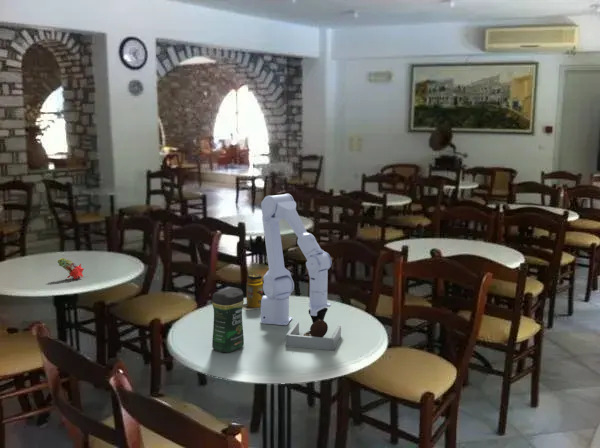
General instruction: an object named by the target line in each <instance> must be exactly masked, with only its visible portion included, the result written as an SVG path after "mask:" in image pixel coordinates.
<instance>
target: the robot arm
mask: <svg viewBox="0 0 600 448" xmlns="http://www.w3.org/2000/svg"><path fill="white" fill-rule="evenodd" d="M260 206H261V213H262V214H261V215H262V217H261V218H262V225H263V226H262V227H263V234H264V241H265V249H266V250H265V251H266V257H267V264H268V270H267V271H266V273H265V274H264V275H263V293H264V294H263V297H262V300H261V308H260V324H265V325H266V324H267V325H277V326H287V325H289V323H290V322H291V320H292V319H293V317H292V316H290V296H292V295H291V293H292V292H294V289H295V282H294V280H293V278H292V275H291V271H290V270H289V269H287V268H286V267H285V261H284V260H285V259H284V253H283V244H282V236H281V230H280V222H281V220H285V222H287V224H288V225H289V227H290V228H291V230H292V231H293V232H294V234H295V235H296V237H297V242H296V244H297V246H298V247H299V249H300V250H301V252H302V254H303V255H304V257H305V260H306V262H305V266H306V269H307V272H308V274H307V275H308V277H309V302H308V308H309V310H308V315H309V316H310V318H311V321H312V324H313V323H314V322H315V321H317V320H319V319H320V320H323V321H325V317H326V314H327V312H328V308H330V307H331V306H332V304H331V303H330V302H328V281H329V280H328V277H329V276H328V275H329V273H328V270H330V268H331V267H332V263H333V262H332V258H331V255H330V254H329V252H327V251H324V249H322V248H321V246H320V245H319V243H318V242H317V239H316V237H315V236H314V235H313V234H312V233H311V232H308V231H307V229H306V227H305V225H304V223H303V221H302V219H301V217H300V215H299V213H298V211H297V202H296V201H295V200H294V197H293V195H291V194H290V193H284V194H276V195H266V196H265V197H264V198H263V200H262V201H261V202H260Z"/></svg>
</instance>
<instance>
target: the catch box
mask: <svg viewBox="0 0 600 448" xmlns="http://www.w3.org/2000/svg"><path fill="white" fill-rule="evenodd" d="M299 332H300V322H299V321H296V322H294V323H293V325H292V326H291V328H290V329H289V330H288V332H286V334H285V347H293V348H294V347H295V348H303V349H312V350H313V349H314V350H323V351H334V350H335V348H336V346H337V344H338V342H339V341H340V339H341V336H342V326H341V325H337V326H336V328H335V330H334V332H333V334H332V335H331V337H324V336H323V337H312V336H303V335H300V334H299Z"/></svg>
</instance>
